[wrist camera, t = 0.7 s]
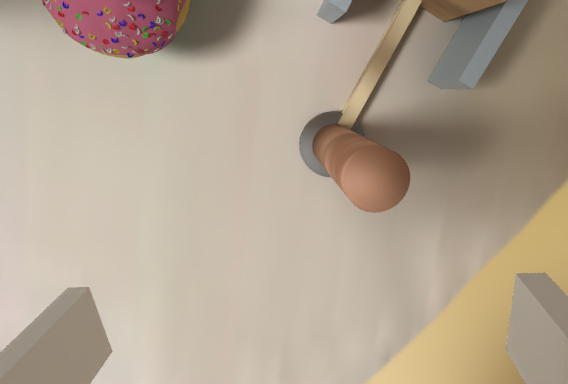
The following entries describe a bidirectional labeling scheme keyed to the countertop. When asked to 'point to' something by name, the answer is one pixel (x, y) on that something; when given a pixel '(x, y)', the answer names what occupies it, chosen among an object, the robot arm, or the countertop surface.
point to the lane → (459, 41)
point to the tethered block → (348, 134)
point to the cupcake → (120, 24)
